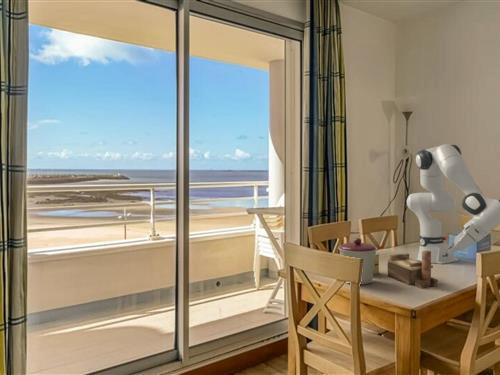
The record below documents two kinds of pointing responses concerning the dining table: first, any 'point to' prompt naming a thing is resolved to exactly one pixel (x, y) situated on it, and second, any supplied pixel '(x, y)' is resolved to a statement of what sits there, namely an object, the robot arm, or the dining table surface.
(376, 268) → the puzzle cube
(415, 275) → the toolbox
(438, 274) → the dining table surface
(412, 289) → the dining table surface
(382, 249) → the dining table surface
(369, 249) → the canister
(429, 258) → the reddish brown cylinder
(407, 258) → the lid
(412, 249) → the dining table surface
